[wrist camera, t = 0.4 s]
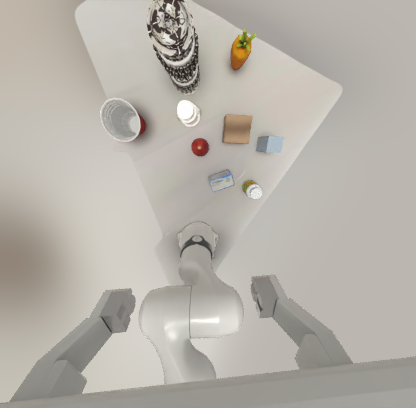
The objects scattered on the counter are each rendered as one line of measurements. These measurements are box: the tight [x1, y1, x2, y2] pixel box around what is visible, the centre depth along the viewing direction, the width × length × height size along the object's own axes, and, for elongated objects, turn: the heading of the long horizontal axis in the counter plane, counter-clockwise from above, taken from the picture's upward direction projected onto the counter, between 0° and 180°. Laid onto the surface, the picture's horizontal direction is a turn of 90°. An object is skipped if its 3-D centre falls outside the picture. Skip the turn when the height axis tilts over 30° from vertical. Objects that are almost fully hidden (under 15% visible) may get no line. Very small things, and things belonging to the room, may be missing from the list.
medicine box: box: [209, 170, 234, 192], centre depth 56 cm, size 8×4×9 cm, turn 110°
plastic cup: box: [100, 98, 146, 142], centre depth 48 cm, size 11×11×12 cm
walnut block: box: [223, 114, 252, 144], centre depth 52 cm, size 8×8×6 cm
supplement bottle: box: [243, 180, 262, 199], centre depth 57 cm, size 5×5×10 cm
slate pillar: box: [256, 136, 284, 153], centre depth 51 cm, size 4×4×10 cm
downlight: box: [177, 100, 201, 127], centre depth 48 cm, size 8×7×10 cm
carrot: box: [231, 30, 256, 69], centre depth 41 cm, size 5×5×15 cm
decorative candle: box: [147, 0, 200, 95], centre depth 37 cm, size 9×9×25 cm
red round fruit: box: [192, 138, 209, 156], centre depth 52 cm, size 6×6×8 cm
